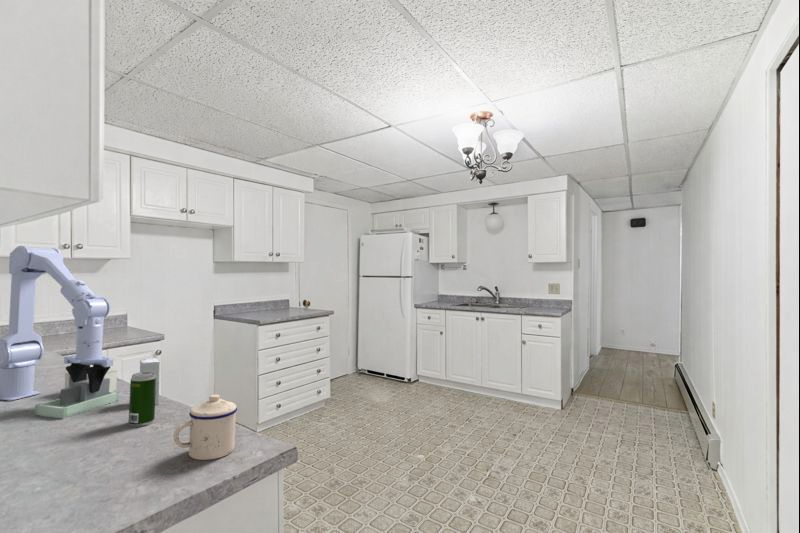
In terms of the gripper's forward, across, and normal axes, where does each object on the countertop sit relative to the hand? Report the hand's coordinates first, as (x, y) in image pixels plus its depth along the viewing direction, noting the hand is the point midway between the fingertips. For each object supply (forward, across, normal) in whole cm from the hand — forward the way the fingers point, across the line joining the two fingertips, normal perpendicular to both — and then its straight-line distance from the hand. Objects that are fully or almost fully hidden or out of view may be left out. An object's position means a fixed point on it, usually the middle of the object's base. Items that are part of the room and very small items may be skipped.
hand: (87, 391), depth 109 cm
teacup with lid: (+4, +51, -16) cm, 54 cm away
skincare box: (+4, +14, +6) cm, 16 cm away
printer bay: (+4, -10, +10) cm, 14 cm away
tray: (+4, 0, -2) cm, 4 cm away
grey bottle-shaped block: (+2, 0, -1) cm, 3 cm away
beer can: (+4, +25, -6) cm, 26 cm away
